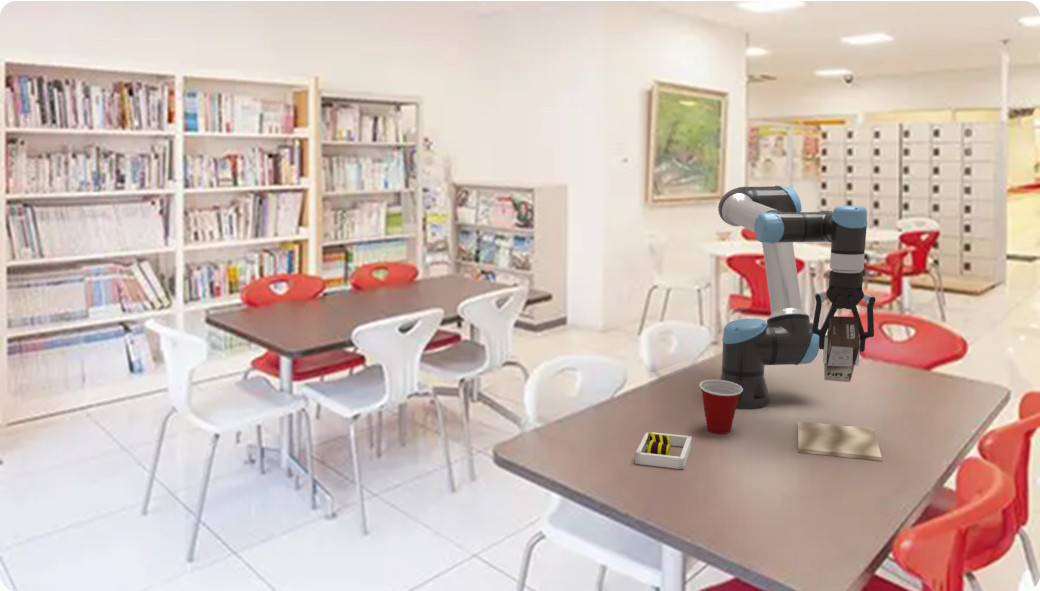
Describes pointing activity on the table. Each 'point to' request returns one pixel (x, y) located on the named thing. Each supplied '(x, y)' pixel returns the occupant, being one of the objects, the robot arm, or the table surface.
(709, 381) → the plastic cup
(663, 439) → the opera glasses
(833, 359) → the coffee box
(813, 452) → the birch board
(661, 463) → the white tray rim
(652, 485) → the table surface
